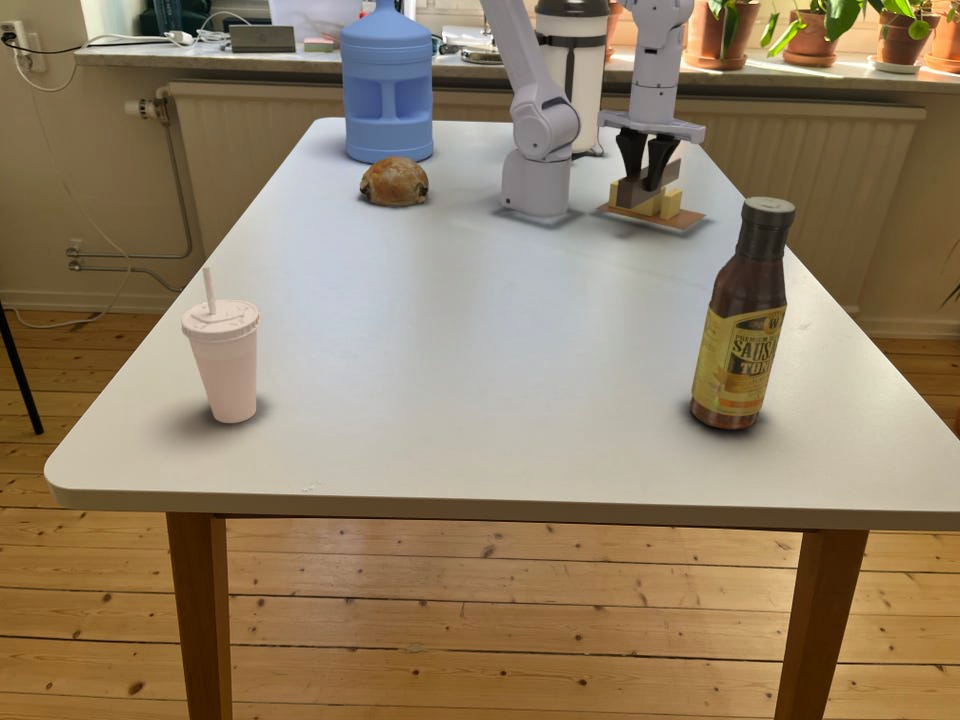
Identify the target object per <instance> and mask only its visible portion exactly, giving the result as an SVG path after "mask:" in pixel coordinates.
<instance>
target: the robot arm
mask: <svg viewBox="0 0 960 720" xmlns="http://www.w3.org/2000/svg"><path fill="white" fill-rule="evenodd" d="M614 1H615V2H616V3H618V5H620V6H621V7H622V8H624V9H625V10H627V12H629V13H631V17H632V20H633V22H634V24H635V26H636V28H637V36H636V44H635V51H634V60H633V70H632V78H631V81H632V82H631V86H630V87H631V89H630V97H629V98H630V99H629V105H628V106H629V107H628V111H621V110H612V109H601V111H599V112H598V116H597V126H598V127H599V128H606V127H607V128H613V129H617V130H618V129H619V130H620V131H619V133H618V134H616V135H615V143H616V145H617V147H618V149H619V152H620V154H621V158H622V161H623V165H624V169H625V177H626V176H628V175H630V174H632V173H634V172H636V171H639V170H641V169H642V167H643V166H642V164H643V157H644V154H645V153H644V152H645V149H646V144H647V151H648V153H647V155H648V165H647V166H648V175H647V182H646V191H647V192H652V191H654V190H656V189H657V188H658V184H659V181H660V179H661V176H662V173H663V171H664V169H665V167H666V165H667V164H668V163H669V161H670V160H671V158H672V156H673V154H674V153H675V152H676V150H677V148H678V147H679V145H680V144H681V141H683V142H689V143H690V144H693V145H699V144H702V143H704V141H705V136H706V130H707V126H705V125H700V124H696V123H692V122H688V121H685V120H682V119H678V118H675V117H674V114H675V107H676V101H677V99H676V98H677V92H678V84H679V77H680V72H681V71H680V70H681V62H682V56H683V55H682V54H683V44H684V35H685V29H686V25H684V24H686V23H687V22H688V21H689V19H690V18H691V16H692V15H693V12H694V9H695V0H614ZM479 3H480V5H481V6H480V7H481V8H482V11H483V13H484V17H485V19H486V22H487V24H488V27H489V30H490V32H491V35H492V37H493V41H494V43H495V46H496V48H497V51H498V54H499V57H500V59H501V62H502V65H503V67H504V69H505V72H506V76H507V78H508V80H509V83H510V86H511V88H512V91H514V98H513V97H512V102H511V105H510V108H509V115H510V117H511V120H512V138H513V142H514V144H515V147H516V148H514V149H512V150H511V151H510V152H509V153H508V154H507V155H506V157H505V159H504V162H503V165H502V170H501V194H500V195H501V196H500V197H501V198H500V206H501V207H503V208H506V209H510V210H514V211H518V212H520V213H523V214H524V215H528V216H531V217H537V218H539V217H540V218H553V217H559V216H562V215H565V214H566V213H568V207H569V195H570V194H569V193H570V181H571V169H572V168H571V167H572V155H573V153H572V143H573V142H574V141H575V140H576V139H577V138H578V136H579V134H580V132H581V126H582V124H581V117H580V114H579V112H578V111H577V109H576V108H575V107H574V106H573V105H572V104H571V103H570V102H569V100H568V99H567V96H566V94H565V91H564V89H563V88H561V87H560V86H559V85H558V84H557V83H556V82H554V81H553V80H552V79H551V77H550V74H549V71H548V68H547V66H546V63H545V60H544V57H543V54H542V52H541V49H540V46H539V43H538V41H537V38H536V35H535V32H534V30H535V29H534V26H533V24H532V22H531V19H530V16H529V13H528V11H527V7H526V5H525V3H524V0H479ZM649 135H650V136H655V137H653V138H651V139H649V140H648V138H649Z"/></svg>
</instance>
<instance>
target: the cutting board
mask: <svg viewBox="0 0 960 720" xmlns="http://www.w3.org/2000/svg"><path fill="white" fill-rule="evenodd" d="M608 204H609V201H607V202H605V203H604V204H602V205H600V206H598V207H595V209H596V210H600V211H603V212H608V213H612V214H616V215H620V216H624V217H629V218H632V219H635V220H636V219H637V220H639V221H640V220H641V221H645V222H649V223H653V224H657V225H661V226H665V227H670V228H674V229H677V230H681V231H684V230H686V229H688V228H689V227H691V226H692V225H694V224H696V223H697V222H698V221H700V220H702V219H704V217H706V216H707V214H705V213H701V212H696V211H691V210H686V209H683V208H680V211H679V214H677V215H675V216H674V217H672V218H670V219H669V220H664V219H660V216H661V211H659V212H658V213H656V214H654V215H652V216H647V215H643V214H639V213H635V212H630V211H626V210H622V209H618V208H614V207H609V206H608Z"/></svg>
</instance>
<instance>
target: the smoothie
mask: <svg viewBox="0 0 960 720" xmlns="http://www.w3.org/2000/svg"><path fill="white" fill-rule="evenodd" d="M202 275H203V281H204V288H205V293H206V300H207V301H205V302H202V303H198V304H196V305H194V306H192V307H190V308H188V309H187V310H186V311H185V312H184V313H183V314H182V316H181V317H180V323H181V331H182V334H183V335H184V336H185V337H186V338H188V341H189V345H190V348H191V351H192V355H193V357H194V360H195V364H196V366H197V369H198V372H199V375H200V379H201V381H202V384H203V388H204V391H205V394H206V397H207V400H208V403H209V407H210V409H211V413H212V415H213V418H214V419H215V420H216V421H218V422H220V423H223V424H237V423H242V422H245V421H248V420H249V419H251V418H252V417H253V416H254V415H255V414H256V412H257V364H258V363H257V362H258V361H257V359H258V357H257V351H258V348H257V347H258V345H257V344H258V329H259V327H260V325H261V322H262V321H261V317H260V312H259V309H258V307H257V306H256V305H255V304H253V303H251V302H248V301H245V300H241V299H231V298H230V299H229V298H225V299H215V295H214V288H213V287H214V286H213V282H212V275H211V268H210V266H209V265H203V266H202Z"/></svg>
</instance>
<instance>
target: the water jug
mask: <svg viewBox="0 0 960 720" xmlns="http://www.w3.org/2000/svg"><path fill="white" fill-rule="evenodd" d="M432 37H433V36H432V31H431V30H430V28H428V27H426V26H424V25H422V24H420V23H419V22H417V21H416V20H414V19H411V18H410V17H408V16H406V15H404V14H402V13H401V12H399V11H397V9H396V7H395V0H375V8H374V10H373V11H372V12H369V13H368V14H366V15H364V16H363V17H361V18H359V19H357V20H355V21H353V22H352V23H350V24H348V25H346V26H344V27H342V28H341V29H340V31H339V38H340V39H339V53H340V58H341V74H342V103H343V108H344V120H345V137H346V138H345V150H346V153H347V154H348V156H350V157H351V158H352V159H353V160H356V161H359V162H363V163H367V164H372V165H373V164H374V163H376V162H378V161H380V160H382V159H385V158H388V157H402V158H410V159H411V160H412V161H413V162H416V163H417V162H419V161H423V160H425V159H427V158H429V157H430V156H431V155H432V154H433V152H434V146H435V145H434V144H435V143H434V138H433V107H434V92H433V76H432V75H433V68H432V65H433V61H432V59H433V52H434V51H433V49H434V48H433V41H432V40H433V39H432Z"/></svg>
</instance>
